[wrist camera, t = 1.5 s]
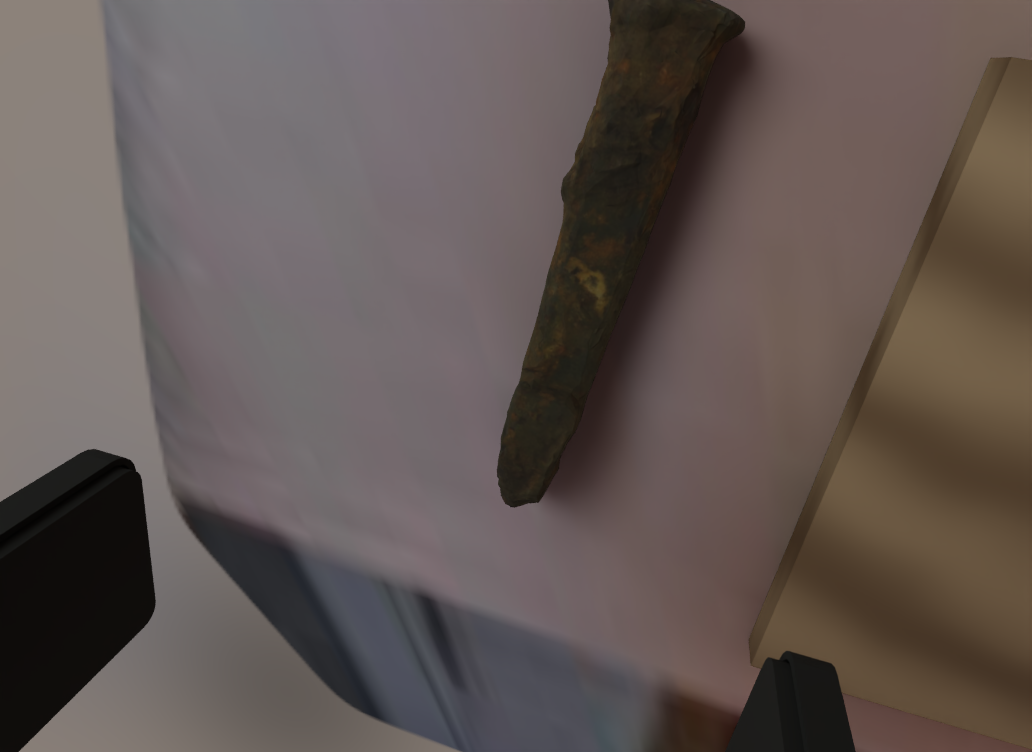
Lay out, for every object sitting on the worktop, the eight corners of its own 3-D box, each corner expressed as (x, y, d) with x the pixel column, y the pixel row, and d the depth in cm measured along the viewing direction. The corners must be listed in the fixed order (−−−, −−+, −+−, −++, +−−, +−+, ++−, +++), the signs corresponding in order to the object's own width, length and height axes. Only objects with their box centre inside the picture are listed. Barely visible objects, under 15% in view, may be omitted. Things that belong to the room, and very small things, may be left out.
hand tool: (627, -23, 22) (608, -44, 17) (746, 18, 21) (756, 5, 17) (472, 445, 30) (436, 504, 26) (555, 479, 30) (531, 544, 26)
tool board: (990, 58, 20) (1011, 57, 18) (1473, 130, 18) (1534, 135, 17) (748, 639, 30) (750, 665, 29) (1035, 723, 29) (1052, 755, 27)
